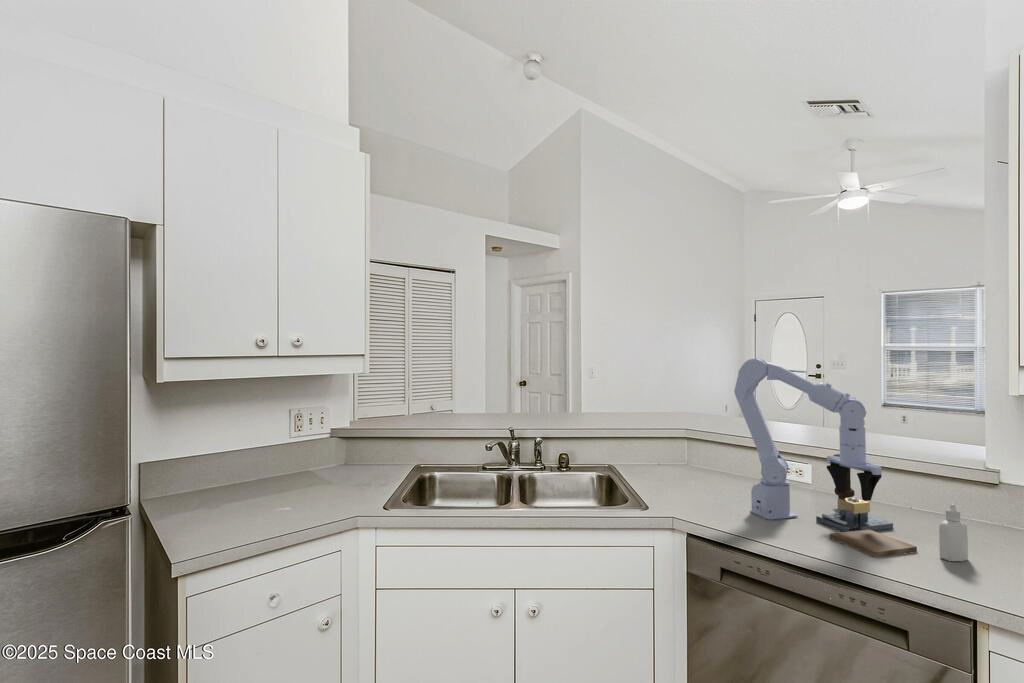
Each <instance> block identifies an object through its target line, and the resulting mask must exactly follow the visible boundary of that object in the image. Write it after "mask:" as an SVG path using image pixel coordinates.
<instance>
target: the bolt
mask: <svg viewBox="0 0 1024 683" xmlns="http://www.w3.org/2000/svg"><path fill="white" fill-rule="evenodd" d="M832 456H837V457H840V453H837V454H833V455H832ZM851 470H852V468H849V469H848V472H847V477H846V491H845V492H844V493H837V490H836V487H834V494H835V495H836V496H838V498H837V500H838V499H839V498H849V497H855V490H854V489H853V488H852V486H851V485H852V484H851V483H852V482H851Z"/></svg>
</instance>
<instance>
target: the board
mask: <svg viewBox="0 0 1024 683" xmlns="http://www.w3.org/2000/svg"><path fill="white" fill-rule="evenodd" d="M829 539H830V540H832V539H833V540H832V541H834V540H835V541H834V542H837V543H839V542H840V543H839V544H841V543H842V544H841V545H844V544H845V545H844V546H846V545H847V547H849V548H851V547H852V549H853V548H854V550H856V551H858V552H860V551H861V553H863V554H866V555H868V556H870V557H873V558H875V559H876V558H882V557H883V556H884V557H888V556H890V555H891V556H897V555H898V556H899V555H903V554H904V553H906V554H912V553H911V552H913V553H917V552H918V547H917V546H915V545H914V544H910V543H907V542H905V541H902V540H899V539H897V538H894V537H891V536H888V535H886V534H882V532H881V533H880V532H879V531H872V530H870V529H865V530H857V531H848V532H842V531H839V532H834V533H832V532H831V533H829ZM904 555H905V554H904ZM891 556H890V557H891ZM884 557H883V558H884Z"/></svg>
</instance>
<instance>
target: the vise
mask: <svg viewBox="0 0 1024 683" xmlns="http://www.w3.org/2000/svg"><path fill="white" fill-rule="evenodd" d="M858 499H859V498H857V497H854V498H849V501H851V502H854V503H855V502H858ZM815 519H816V520H815V521H816V523H819V524H822V525H824V526H827V527H829V528H831V527H832V528H831V529H834V528H835V529H834V530H836V531H839V530H840V531H839V532H848V531H857V530H865V529H870V530H872V531H875V532H880V531H882V530H883V531H889V530H894V522H890V521H887V520H885V519H882V518H878V517H875V516H872V515H869V512H866V513H857V514H854V513H851V512H848V511H845V510H842V509H839V513H832V514H826V513H822V514H821V515H816V517H815Z"/></svg>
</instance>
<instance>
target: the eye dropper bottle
mask: <svg viewBox="0 0 1024 683" xmlns="http://www.w3.org/2000/svg"><path fill="white" fill-rule="evenodd" d="M938 529H939V530H938V532H939V533H938V534H939V537H938V539H939V544H938V545H939V558H940V559H943V560H944V561H947V560H948V562H951V561H961V562H965V561H967V560H968V559H969V541H968V540H969V537H968V536H969V535H968V526H967V524H966V523H965V522H962V521H961V511H960V510H958V509H957V508H956V504H954V503H950V506H949V508H946V509H945V519H944V520H943V521H941V522H940V523H939V527H938Z"/></svg>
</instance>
